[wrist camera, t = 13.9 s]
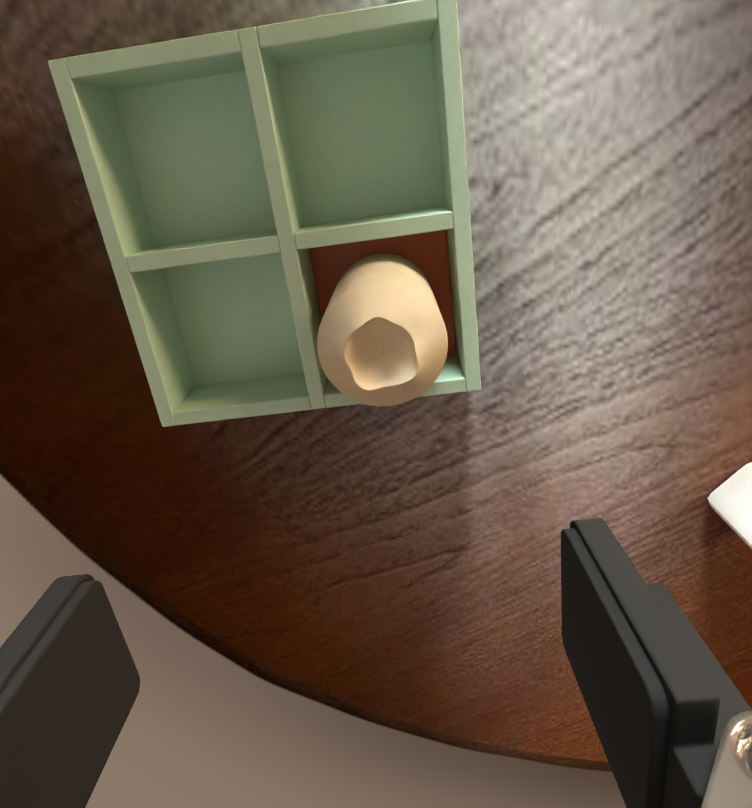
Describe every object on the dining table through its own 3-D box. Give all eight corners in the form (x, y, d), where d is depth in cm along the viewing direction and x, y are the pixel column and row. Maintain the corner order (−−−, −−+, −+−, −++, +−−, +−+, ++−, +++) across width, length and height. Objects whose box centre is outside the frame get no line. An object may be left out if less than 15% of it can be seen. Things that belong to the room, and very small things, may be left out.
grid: (189, 395, 34) (161, 427, 30) (98, 77, 28) (46, 60, 23) (469, 362, 33) (481, 390, 29) (445, 20, 26) (456, -8, 22)
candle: (451, 287, 31) (479, 337, 21) (397, 365, 32) (401, 443, 23) (368, 231, 30) (359, 259, 20) (316, 316, 31) (287, 377, 22)
